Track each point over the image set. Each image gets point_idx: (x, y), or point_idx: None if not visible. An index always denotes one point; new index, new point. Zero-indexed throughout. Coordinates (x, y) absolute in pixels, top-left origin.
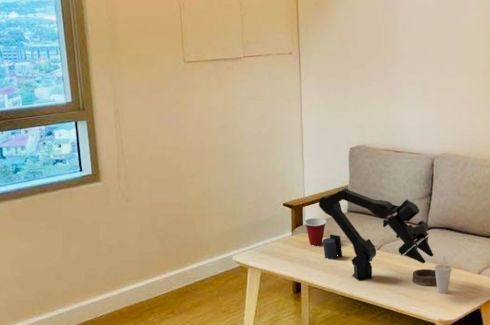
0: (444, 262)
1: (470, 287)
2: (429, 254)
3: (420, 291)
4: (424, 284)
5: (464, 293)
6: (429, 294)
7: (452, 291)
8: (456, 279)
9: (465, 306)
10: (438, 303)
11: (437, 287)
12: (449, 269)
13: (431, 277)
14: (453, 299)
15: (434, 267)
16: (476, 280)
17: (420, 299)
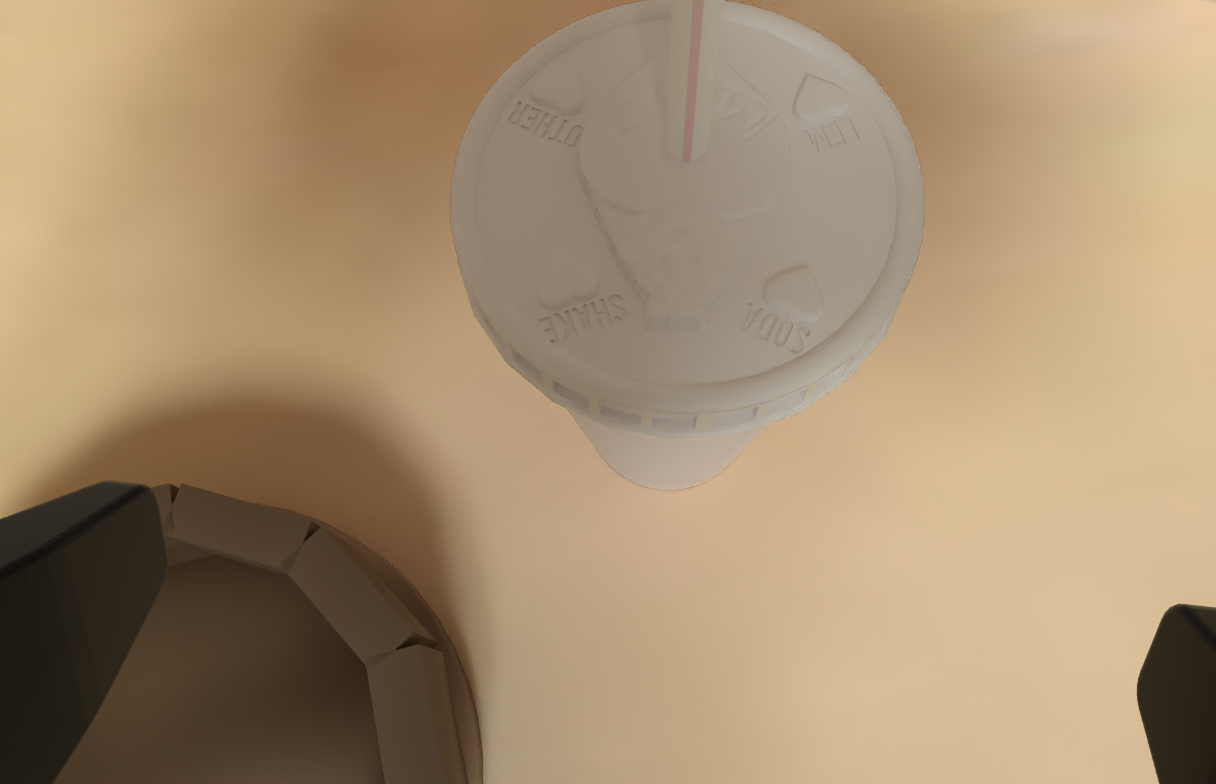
0: (715, 31)
1: (329, 89)
2: (96, 657)
3: (815, 780)
4: (478, 780)
5: None
6: (889, 587)
7: None
8: (12, 323)
9: (1103, 26)
10: (1209, 366)
11: (726, 462)
12: (771, 15)
13: None
14: None
15: (757, 400)
16: (5, 67)
17: None
